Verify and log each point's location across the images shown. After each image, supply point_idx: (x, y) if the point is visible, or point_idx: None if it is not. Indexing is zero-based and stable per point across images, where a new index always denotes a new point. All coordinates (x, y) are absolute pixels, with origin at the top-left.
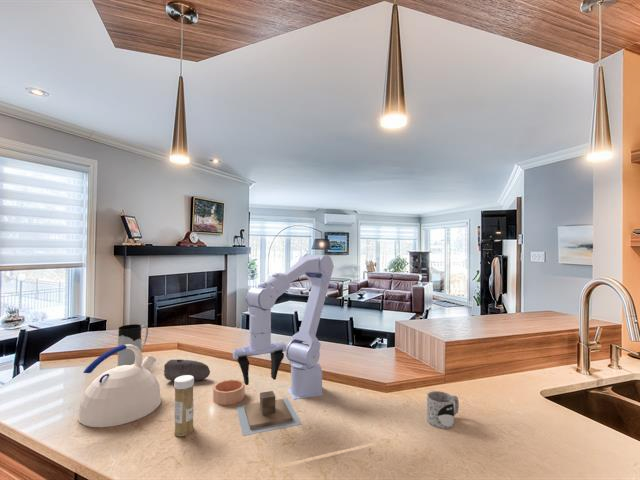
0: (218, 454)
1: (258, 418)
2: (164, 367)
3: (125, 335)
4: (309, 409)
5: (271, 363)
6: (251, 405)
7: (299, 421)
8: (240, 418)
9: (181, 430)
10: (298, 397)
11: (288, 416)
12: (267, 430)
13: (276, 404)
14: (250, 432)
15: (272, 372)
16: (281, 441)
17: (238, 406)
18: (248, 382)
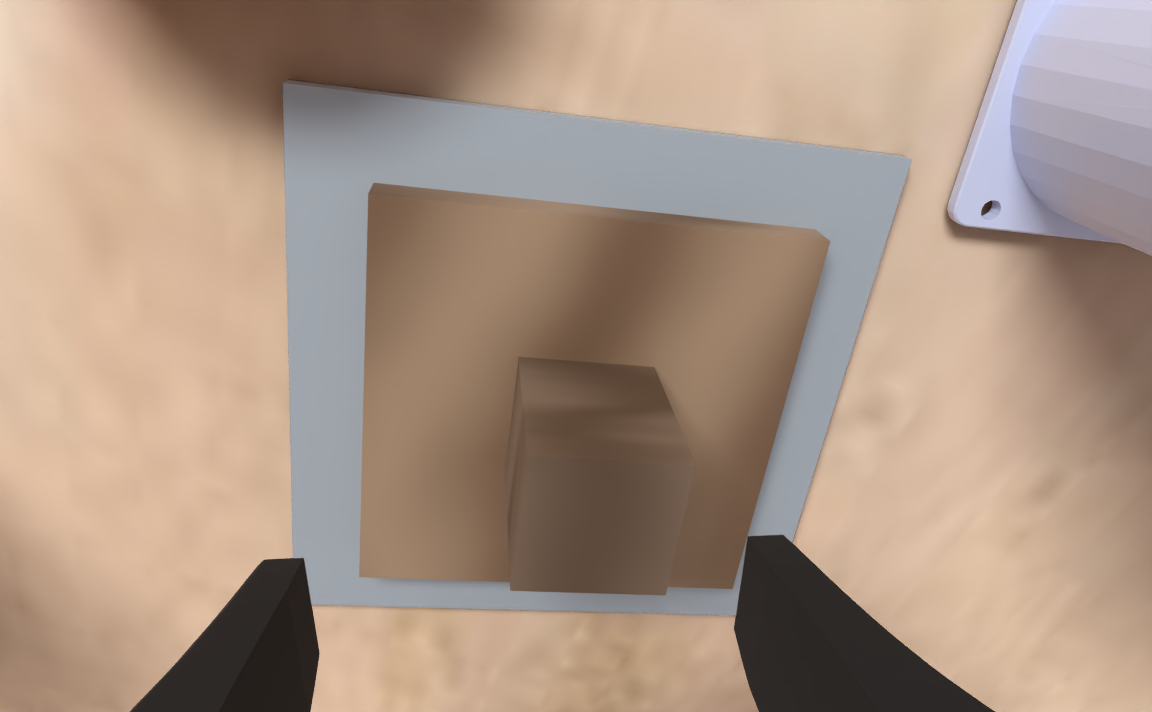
0: (107, 693)
1: (455, 507)
2: None
3: None
4: (958, 423)
5: (858, 695)
6: (449, 237)
7: None
8: (303, 362)
9: None
10: (1014, 211)
11: (710, 563)
12: (494, 607)
13: (712, 332)
14: (360, 586)
15: (775, 649)
16: (552, 700)
17: (310, 92)
18: (309, 695)
